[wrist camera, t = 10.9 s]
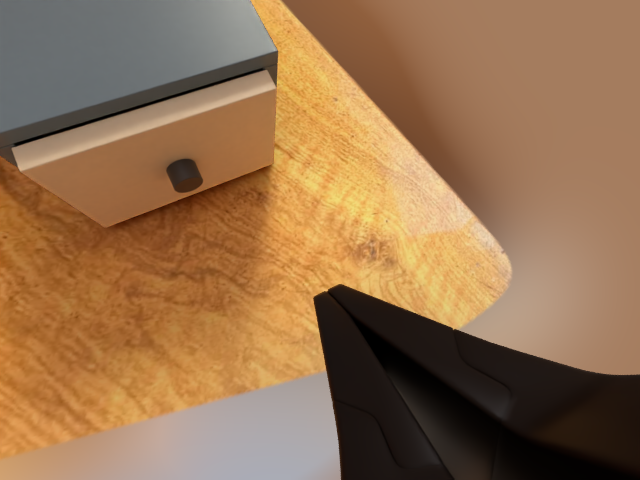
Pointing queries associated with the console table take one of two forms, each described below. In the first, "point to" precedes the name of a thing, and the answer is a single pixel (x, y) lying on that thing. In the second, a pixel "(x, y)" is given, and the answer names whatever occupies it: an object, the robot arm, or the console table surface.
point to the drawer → (157, 149)
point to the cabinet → (116, 57)
